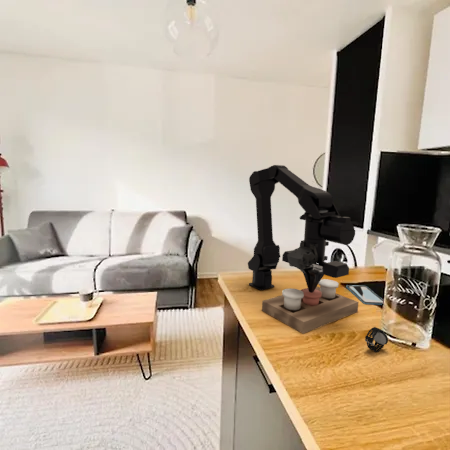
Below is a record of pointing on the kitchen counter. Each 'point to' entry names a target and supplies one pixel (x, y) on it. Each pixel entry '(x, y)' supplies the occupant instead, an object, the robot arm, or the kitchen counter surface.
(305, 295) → the red plug
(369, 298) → the smartphone
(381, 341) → the smartwatch
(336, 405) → the kitchen counter surface
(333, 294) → the grey plug far
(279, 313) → the socket board
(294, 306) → the grey plug near
